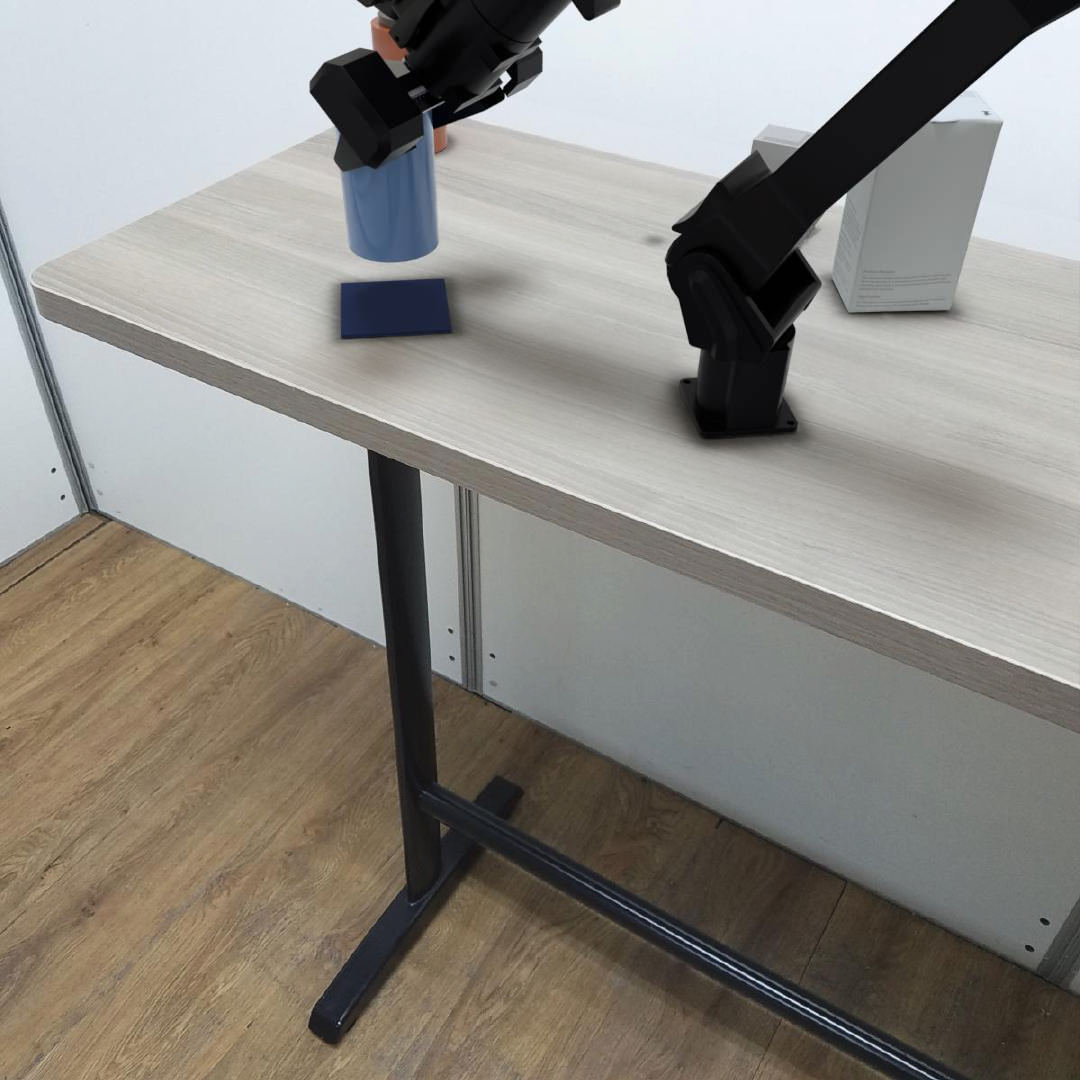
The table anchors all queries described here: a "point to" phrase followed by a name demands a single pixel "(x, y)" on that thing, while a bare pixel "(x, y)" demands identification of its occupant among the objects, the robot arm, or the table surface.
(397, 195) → the blue jar
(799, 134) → the stamp
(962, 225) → the cosmetic box
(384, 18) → the terracotta jar
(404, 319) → the blue mat
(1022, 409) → the table surface
